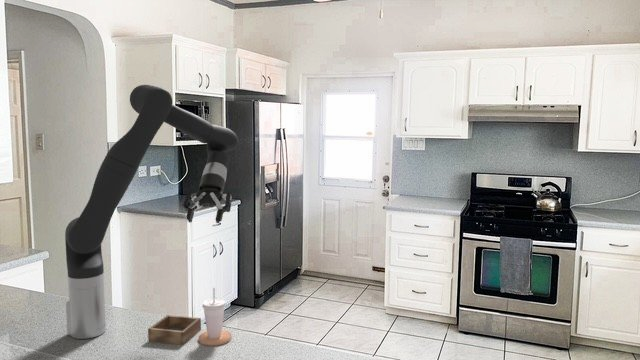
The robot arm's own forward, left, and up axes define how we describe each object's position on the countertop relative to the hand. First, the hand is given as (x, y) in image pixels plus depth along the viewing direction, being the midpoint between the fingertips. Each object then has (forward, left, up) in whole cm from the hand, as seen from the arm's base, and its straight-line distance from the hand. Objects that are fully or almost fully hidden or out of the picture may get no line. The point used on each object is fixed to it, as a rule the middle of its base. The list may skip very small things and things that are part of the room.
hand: (203, 221), depth 151 cm
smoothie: (+9, -12, -30) cm, 34 cm away
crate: (-3, -13, -31) cm, 33 cm away
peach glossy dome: (+9, -12, -31) cm, 34 cm away
